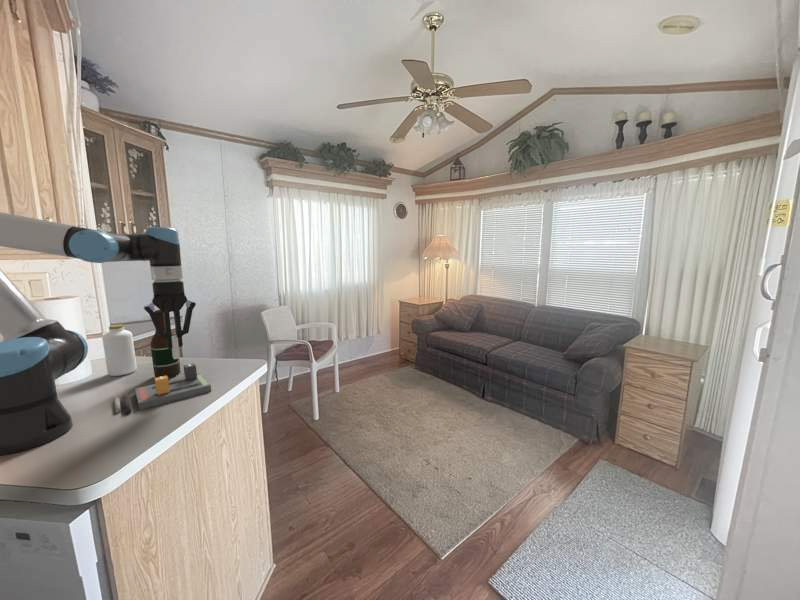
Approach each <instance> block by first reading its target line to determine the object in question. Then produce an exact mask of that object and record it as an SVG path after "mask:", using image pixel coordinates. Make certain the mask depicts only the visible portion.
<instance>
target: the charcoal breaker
mask: <svg viewBox="0 0 800 600" xmlns="http://www.w3.org/2000/svg"><path fill="white" fill-rule="evenodd" d="M183 373H184V377H185V379H186V380H191V379H196V378H197V374H198V372H197V366H196V364H195V363H193V362H192V363H188V364H183Z"/></svg>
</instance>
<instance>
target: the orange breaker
mask: <svg viewBox="0 0 800 600" xmlns="http://www.w3.org/2000/svg"><path fill="white" fill-rule="evenodd" d="M169 381H170V380H169V378H168V377H167V375H166V376H161V377H157V378H156V377H154V384H155V385H156V392H157V395H160V394H164V393H168V392H170V389H169Z"/></svg>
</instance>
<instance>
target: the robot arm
mask: <svg viewBox="0 0 800 600" xmlns="http://www.w3.org/2000/svg"><path fill="white" fill-rule="evenodd" d="M180 244H181V243H180V239H179V233H178V230H177V229H175V228H173V227H167V226H161V227H160V226H150V227H149V226H148V227H146V228H145V233H142V234H140V233H139V234H135V233H134V234H133V233H132V234H130V233H117V232H108V231H102V230H98V229H92V228H91V229H90V228H86V227H81V226H75V225H70V224H65V223H60V222H55V221H48V220H43V219H39V218H33V217H28V216H24V215H23V216H22V215H19V214H18V215H17V214H13V213H9V212H3V211H0V247H5V248H11V249H18V250H22V251H30V252H34V253H40V254H41V253H43V254H47V255H54V256H55V255H56V256H61V257H67V258H73V259H77V260H82V261H83V262H87V263H93V264H94V263H95V264H103V263H109V262H110V263H111V262H114V263H115V262H140V261H141V262H142V261H143V262H146V261H149V266H150V268H149V269H150V275H151V276H150V277H151V280H152V281H154V282H153V283H152V293H153V297H152V299H151V302H150V303H149V304H147V305H144V306H143V309H144V310H145V312H147V314H148V315H149V317H150V319H151V322H152V324H153V326H154V328H155V330H156V331H157V333H158V335H159V336H160V337H164V338H166V341H167V347H168V348H169V349H170V348H172V355H173V358H174V359H179V360H180V359H181V356H180V355H181V354H180V348H181V347H183V345H184V343H183V336H184V335H187V334H188V333H189V332H190V326H191V321H192V316H193V310H194V309H195V307H196V304H197V303H196V302H195V301H191V300H189V299H188V298H187V296H186V294H185V287H184V282H183V279H184V278H183V277H184V276H183V268H182V258H181V246H180ZM184 305H185V307H186V309H185V315H184V321H183V327H182V324H181V323H182V322H181V309H182V308H183V307H184ZM155 307H156V308H157V309H158V310H161V311H162V312H163V316H164V325H165V333H163V331H162V329H161V326H160V324H159V322H158V319H157V317H156V315H155V313H154V311H156V308H155ZM171 312H172V313H173V319H174V320H173V321H174V329H175V335H174V336H172V334H173V333H172V327H171V316H170V314H171ZM171 333H172V334H171ZM0 335H1V336H2V341H1V342H0V456H3V455H8V454H13V453H17V452H22V451H25V450H28V449H32V448H35V447H38V446H41V445H43V444H46V443H48V442H51V441H53V440H55V439H57V438H59V437H61V436H63V435H64V434H66V433H67V432H69V431H70V430H71V429H72V427H73V419H72V416H71V414H70V413H69V411H68V410H67V409H66V407H65V406H64V405H63V403H62V402H61V401H60V399H59V397H58V392H57V391H58V390H57V385H56V381H55V380H57V379H59V378H60V377H62V376H64V375H65V374H68V373H70V372H72V371H74V370H75V369H77V368H78V367H79V365H81V364H82V363H83V362H84V361H85V360H86V358H87V356H88V352H89V347H88V342H87V340H86V339H85V337H83V335H81V334H80V333H78V332H76V331H73V330H69V329H66V328H64V326H63V325H62V324H61V323H60V322H59V320H58V319H57V320H55V319H48V318H46V316H45V315H44V314H43V313H41V312H40V311H39V310H38V308H37V307H36V306H35V305H34V304H33V303H32V302H31V301H30V299H29V298H28V297H27V296H26V295H25V294H24V293H23V292H22V291H21V290H20V289H19V287H18V286H16V284H15V283H14V282H13V281H12V280H11V278H9V277H8V276H7V274H5V272H4V271H3V270H2V269H1V268H0Z"/></svg>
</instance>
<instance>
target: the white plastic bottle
mask: <svg viewBox="0 0 800 600" xmlns="http://www.w3.org/2000/svg"><path fill="white" fill-rule="evenodd" d="M133 337H134V336H133V333H132V331H130V330H127V329H125V327H124V324H113V325H109V326H108V332H106V333H105V334H104V335H102V345H103V351H104V352H103V353H104V358H105V363H106V364H105V365H106V370H107V371H106V372H107V374H108V375H109V376H111V377H119V376H126V375H129V374H132V373H134V372H135V371H137V368H138V367H137V359H136V353H135V346H134V344H135V343H134V338H133Z"/></svg>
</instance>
